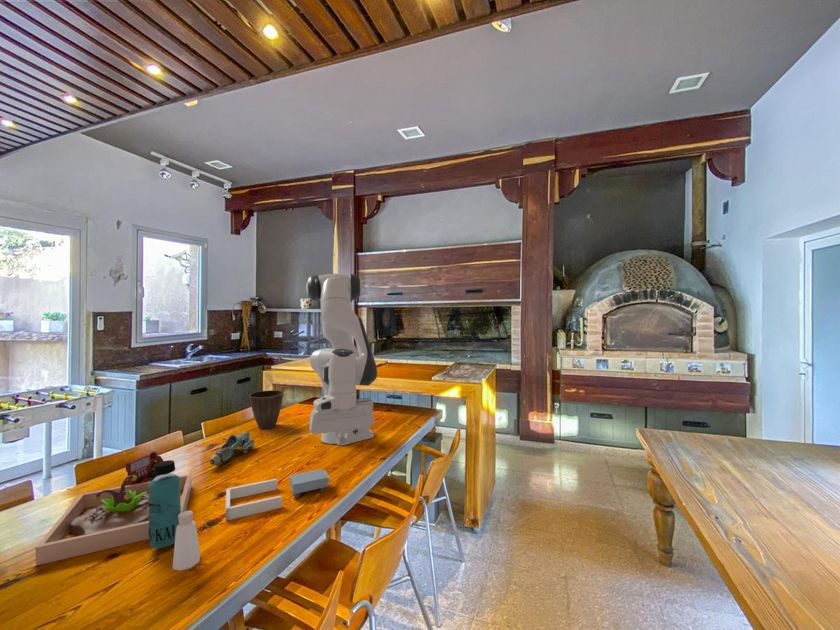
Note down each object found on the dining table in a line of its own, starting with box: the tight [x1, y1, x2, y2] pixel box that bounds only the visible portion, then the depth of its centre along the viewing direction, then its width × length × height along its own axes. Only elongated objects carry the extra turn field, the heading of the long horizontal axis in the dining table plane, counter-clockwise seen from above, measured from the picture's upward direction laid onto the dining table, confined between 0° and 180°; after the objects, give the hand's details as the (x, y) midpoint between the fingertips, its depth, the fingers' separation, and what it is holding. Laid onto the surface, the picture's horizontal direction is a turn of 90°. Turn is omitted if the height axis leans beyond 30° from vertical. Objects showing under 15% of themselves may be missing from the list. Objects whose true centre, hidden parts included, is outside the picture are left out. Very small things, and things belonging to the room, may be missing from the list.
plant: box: [69, 475, 149, 536], centre depth 100 cm, size 20×20×11 cm
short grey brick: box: [289, 468, 331, 499], centre depth 114 cm, size 11×7×4 cm, turn 117°
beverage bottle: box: [148, 459, 182, 549], centre depth 88 cm, size 6×7×20 cm
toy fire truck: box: [125, 451, 164, 486], centre depth 118 cm, size 7×12×10 cm, turn 167°
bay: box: [225, 478, 283, 522], centre depth 107 cm, size 14×13×3 cm
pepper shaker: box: [172, 510, 201, 572], centre depth 82 cm, size 5×5×11 cm
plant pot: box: [249, 389, 284, 430], centre depth 178 cm, size 15×15×16 cm
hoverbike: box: [208, 430, 256, 466], centre depth 142 cm, size 10×25×8 cm, turn 177°
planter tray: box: [35, 473, 193, 567], centre depth 100 cm, size 27×27×4 cm
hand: (342, 443), depth 119 cm, fingers closed
